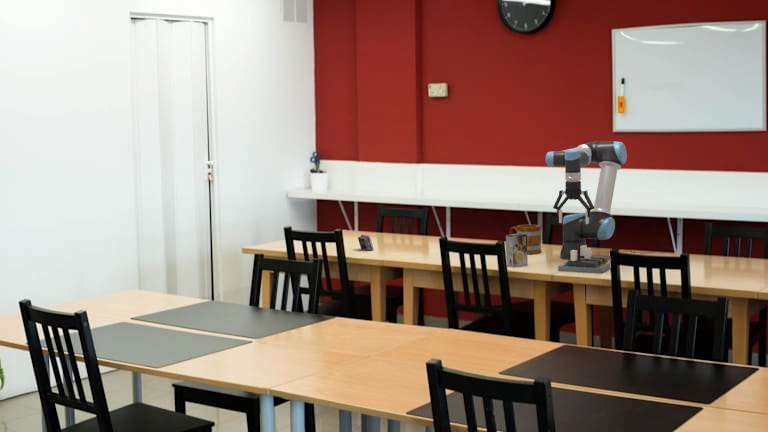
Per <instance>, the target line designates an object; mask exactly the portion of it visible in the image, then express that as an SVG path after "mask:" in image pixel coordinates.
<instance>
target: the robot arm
mask: <svg viewBox="0 0 768 432" xmlns="http://www.w3.org/2000/svg"><path fill="white" fill-rule="evenodd" d="M627 159H628V153H627V148H626V146H625V144H624V143H623V142H622V141H616V140H615V141H614V140H613V141H592V142H591V141H590V142H587V143H584V144H579V145H578V146H576V147H572V148H569V149H563V150H560V151H548V152H547V153H546V154H545V163H546V165H547V166H548V167H553V168H554V167H564V168H565V169H564V170H565V171H564V173H565V175H564V177H565V182H564V183H565V190H563V189H560V190H559V192H558V196H557V198H556V200H555V202H554V205H553V207H552V208H553V209H555V210H556V216H557V217H558V223H559V224H562V239H563V242H562V246H561V248H560V249H561V250H560V253H559V257H560V258H561V259H565V260H571V250H577V257H578V256H580V246H582V245H586V246H587V243H586V240H587V239H588V240H590V239H591V240H598V241H599V240H600V241H602V240H603V241H604V240H609V239H611V237H612V236H613V235H614V232H615V230H616V229H615V228H616V221H615V219H614V218H613V215H612V213H611V209H612V208H611V207H612V202H613V197H614V192H615V187H616V179H617V174H618V171H619V170H621V169H622V165H624V164H626V162H627ZM591 163H593V164H598V165H599V167H600V173H599V177H598V184H597V188H596V195H595V200H594V204H593V202H592V200H591V198H590V196H589V193H588V192H589V191H588V190H587V189H586V190H582V181H581V180H582V175H581V174H582V172H581V169H582V168H583V167H586V166H589V165H590V164H591ZM563 195H565V197H564V199H563V200H562V198H563ZM581 195H583V196H584V198H585V200H586V201H585V200H584V198H583V197H582V196H581ZM561 200H562V202H561ZM568 200H569V201H572V200H574V201H576V200H578V201H579V202H580V204H581V205H582V206H583V207H584V208H585V213H583V212H582V213H574V214H566V215H564V216H563V210H562V208H563V207H564V205H565V204H566V203H567V201H568ZM560 202H561V203H560Z"/></svg>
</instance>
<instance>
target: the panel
mask: <svg viewBox="0 0 768 432" xmlns="http://www.w3.org/2000/svg"><path fill="white" fill-rule="evenodd" d="M608 257H609V256H607V255H605V256H603V255H591V258H590V259H584V256H578V257H577V261H571V259H568V260H567V261H566V262H564V263H561V264H560V265H558V266H557V270H558V272H566V271H567V272H569V273H572V272H573V273H587V274H604V273H605V272H607V271H609V270H610V260H611V259H608Z"/></svg>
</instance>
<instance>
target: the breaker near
mask: <svg viewBox="0 0 768 432" xmlns="http://www.w3.org/2000/svg"><path fill="white" fill-rule="evenodd" d="M570 260H571V261H577V250H571V259H570Z"/></svg>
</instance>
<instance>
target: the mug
mask: <svg viewBox="0 0 768 432" xmlns="http://www.w3.org/2000/svg"><path fill="white" fill-rule="evenodd" d="M513 230H515V232H516V234H518V233H521V234H527V256H533V255H541V254H542V249H541V248H542V245H541V244H542V236H541V235H542V233H541V230H542V225H540V224H529V223H527V224H518V225H516V226H511V227H510V228H509V234H514V233H513Z"/></svg>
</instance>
